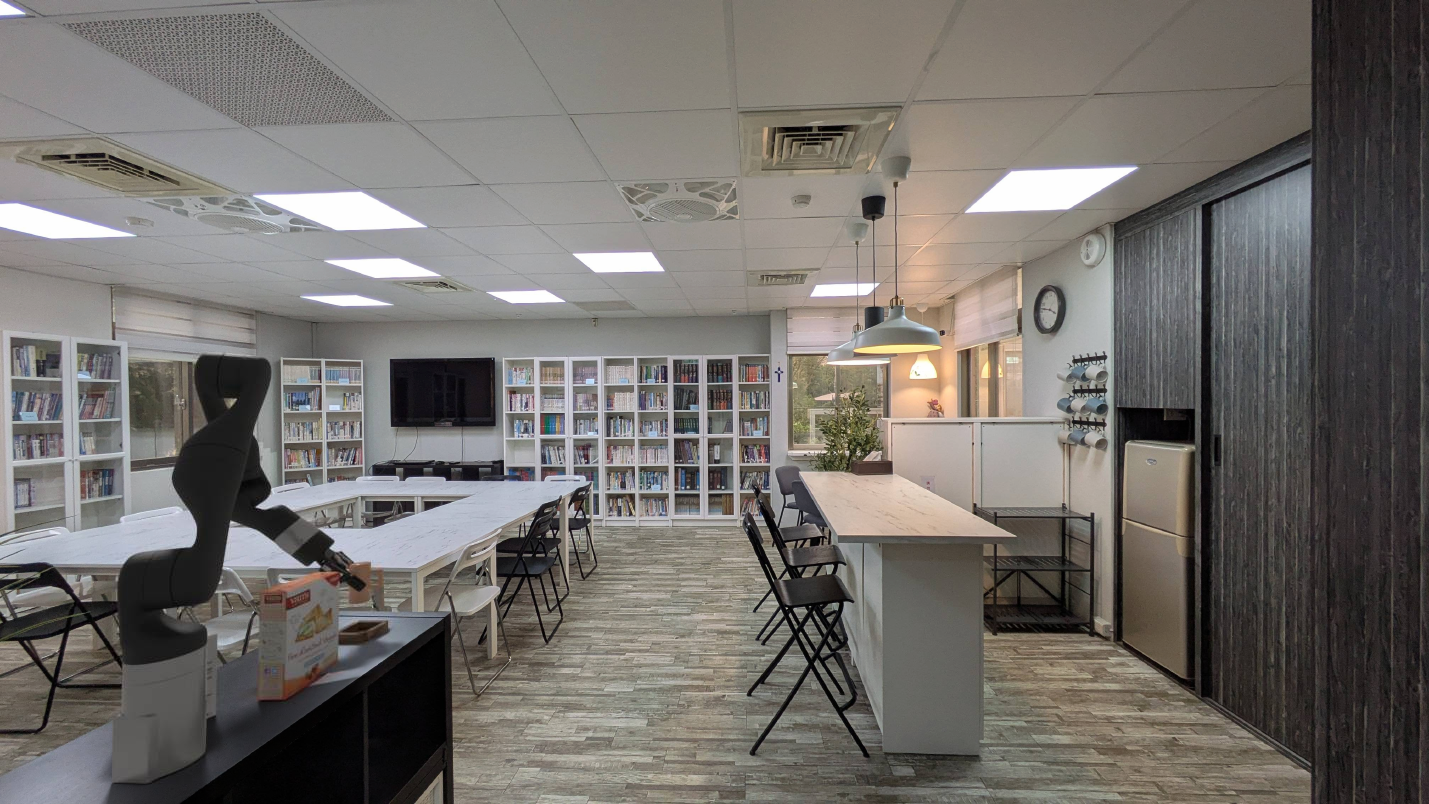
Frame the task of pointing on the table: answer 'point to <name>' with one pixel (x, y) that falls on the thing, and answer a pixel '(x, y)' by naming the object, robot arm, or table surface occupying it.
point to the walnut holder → (362, 631)
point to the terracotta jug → (364, 574)
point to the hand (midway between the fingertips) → (365, 585)
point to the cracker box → (297, 634)
